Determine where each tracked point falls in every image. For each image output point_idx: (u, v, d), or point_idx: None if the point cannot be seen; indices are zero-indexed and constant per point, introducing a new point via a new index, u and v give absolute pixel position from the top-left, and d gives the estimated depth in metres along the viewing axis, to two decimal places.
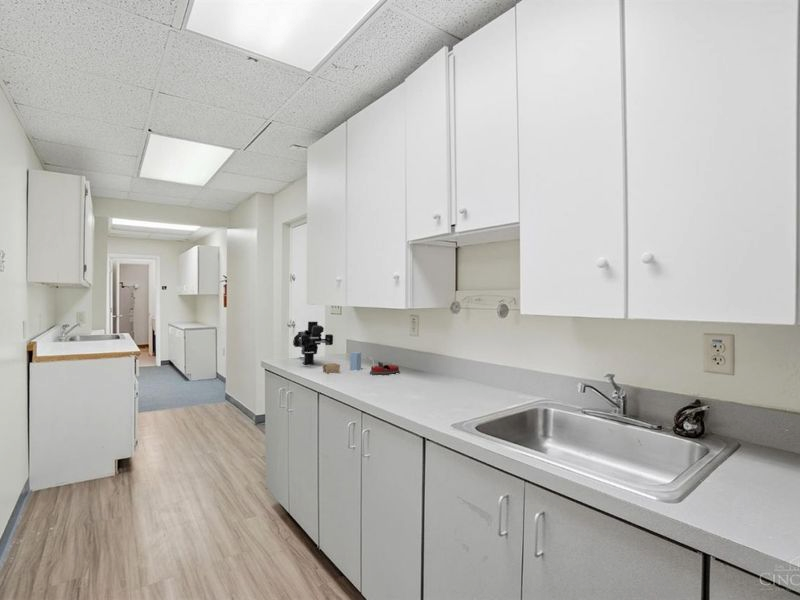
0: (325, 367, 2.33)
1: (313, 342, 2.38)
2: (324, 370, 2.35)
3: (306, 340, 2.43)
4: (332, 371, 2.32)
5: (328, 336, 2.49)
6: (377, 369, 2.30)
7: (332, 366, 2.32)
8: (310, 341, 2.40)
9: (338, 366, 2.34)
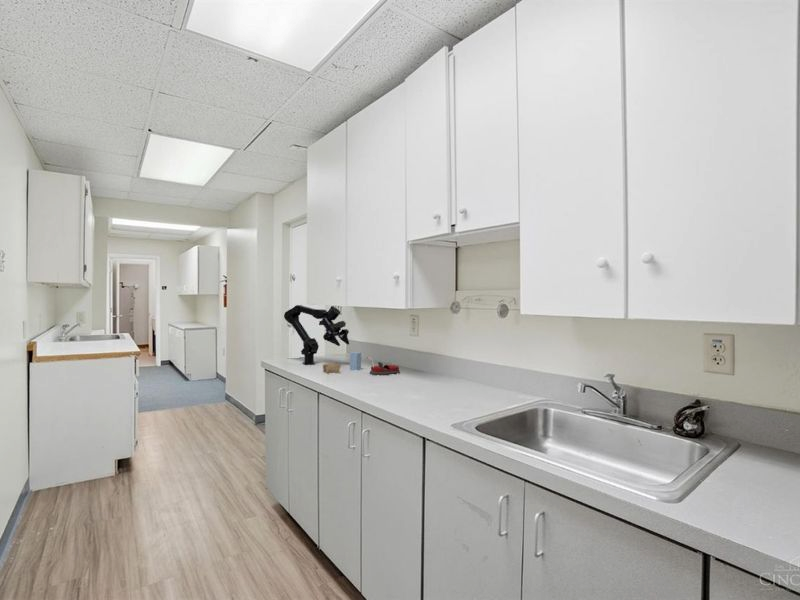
0: (325, 367, 2.33)
1: None
2: (324, 370, 2.35)
3: (331, 337, 2.46)
4: (332, 371, 2.32)
5: (346, 334, 2.56)
6: (376, 369, 2.30)
7: (332, 366, 2.32)
8: (335, 342, 2.46)
9: (338, 366, 2.34)
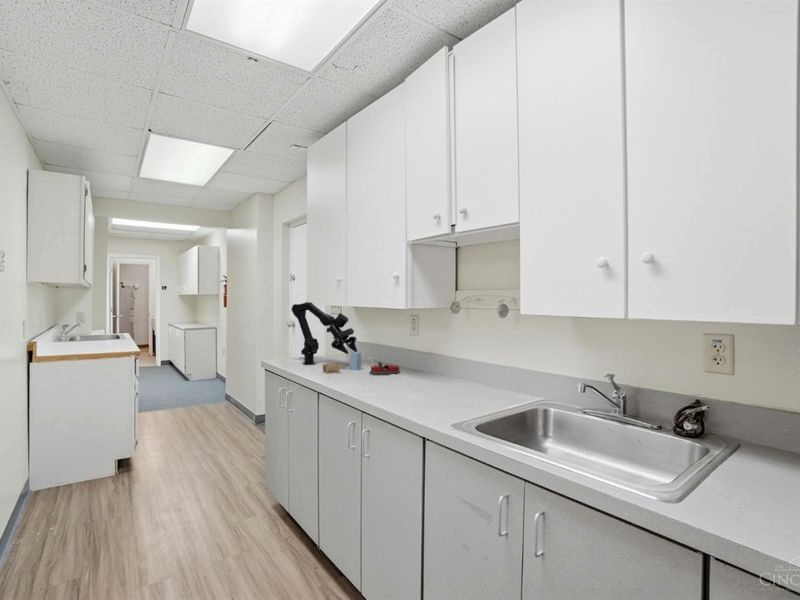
0: (325, 367, 2.33)
1: (347, 353, 2.44)
2: (324, 370, 2.35)
3: (339, 345, 2.43)
4: (332, 371, 2.32)
5: (354, 341, 2.54)
6: (375, 369, 2.31)
7: (332, 366, 2.32)
8: (344, 350, 2.43)
9: (338, 366, 2.34)
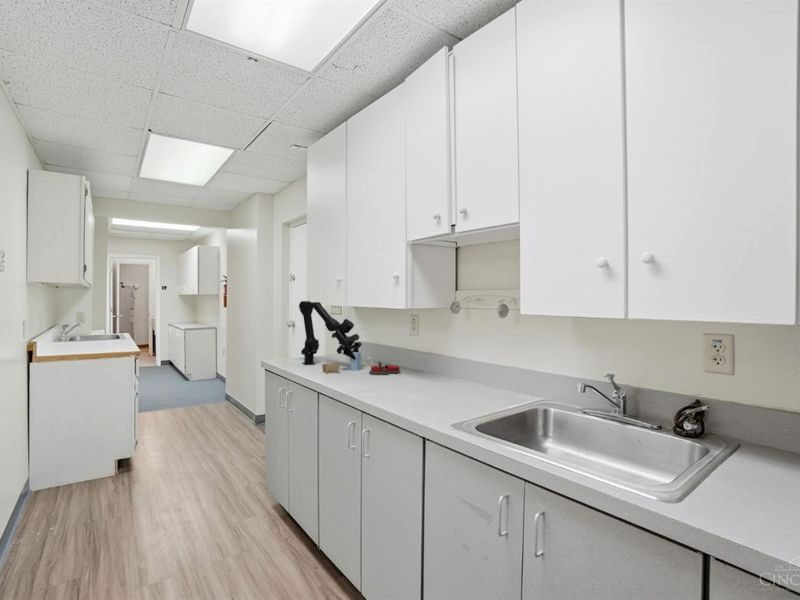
0: (325, 367, 2.33)
1: None
2: (324, 370, 2.35)
3: (346, 350, 2.44)
4: (332, 371, 2.32)
5: (357, 347, 2.50)
6: (374, 369, 2.31)
7: (332, 366, 2.32)
8: (351, 356, 2.43)
9: (338, 366, 2.34)
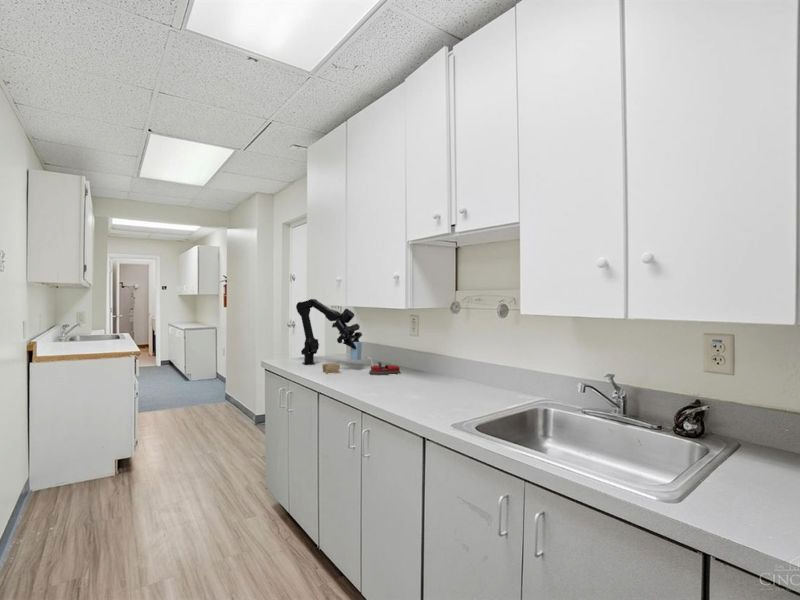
0: (325, 367, 2.33)
1: None
2: (324, 370, 2.35)
3: (347, 340, 2.43)
4: (332, 371, 2.32)
5: (358, 337, 2.50)
6: (374, 368, 2.31)
7: (332, 366, 2.32)
8: (352, 345, 2.43)
9: (338, 366, 2.35)
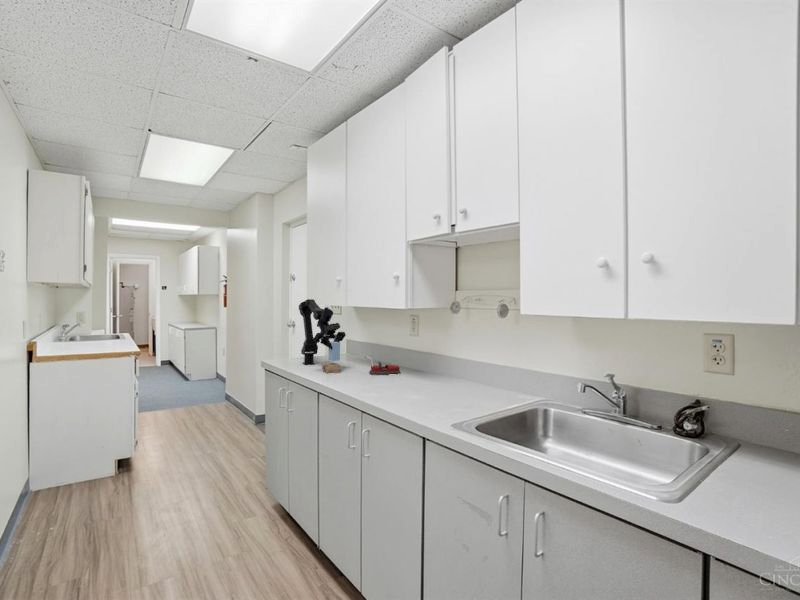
0: (325, 367, 2.33)
1: None
2: (324, 370, 2.35)
3: (324, 340, 2.35)
4: (332, 371, 2.32)
5: (338, 337, 2.40)
6: (374, 368, 2.31)
7: (332, 366, 2.32)
8: (328, 345, 2.34)
9: (338, 366, 2.35)
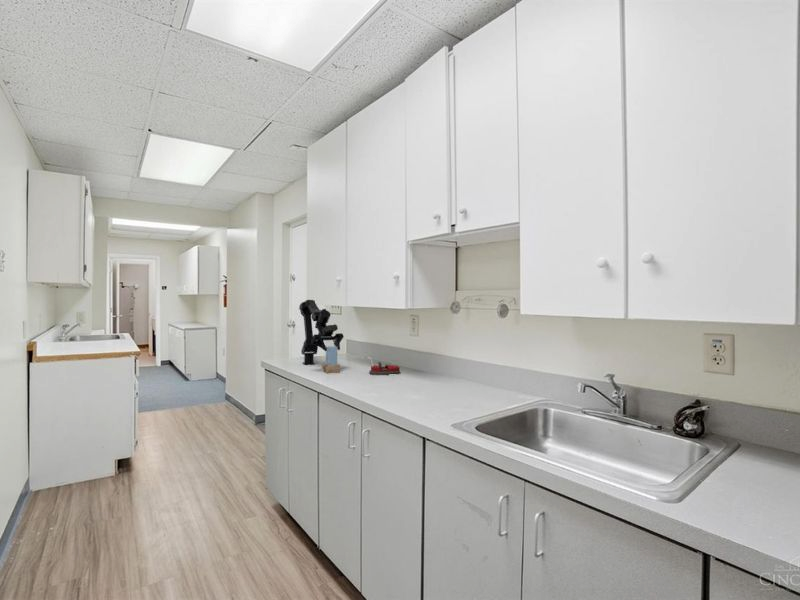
0: (325, 367, 2.33)
1: None
2: (324, 370, 2.35)
3: (318, 341, 2.33)
4: (332, 371, 2.32)
5: (339, 338, 2.40)
6: (374, 368, 2.31)
7: (332, 366, 2.32)
8: (323, 347, 2.32)
9: (338, 366, 2.35)
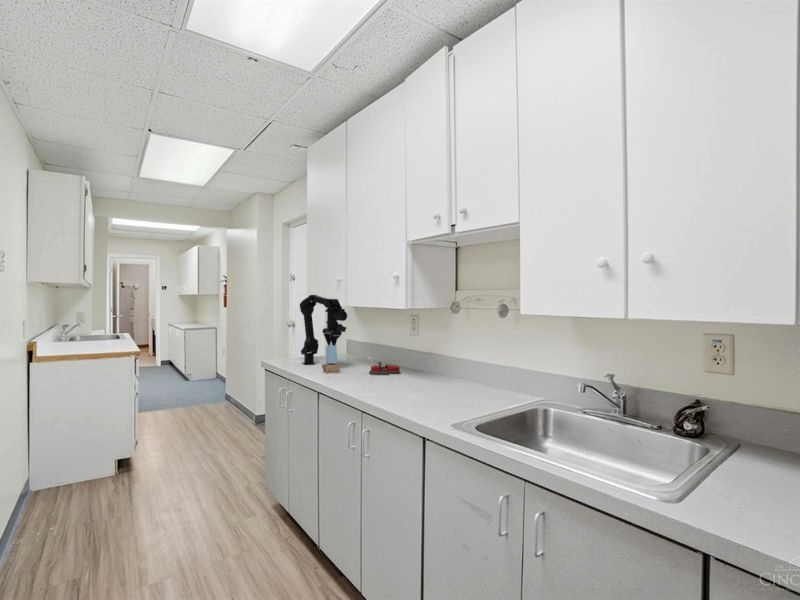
0: (325, 367, 2.33)
1: None
2: (324, 370, 2.35)
3: None
4: (332, 371, 2.32)
5: None
6: (374, 368, 2.31)
7: (332, 366, 2.32)
8: (334, 343, 2.44)
9: (338, 366, 2.35)
